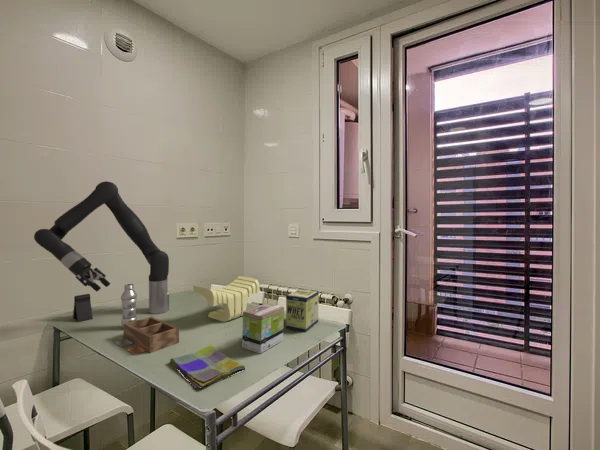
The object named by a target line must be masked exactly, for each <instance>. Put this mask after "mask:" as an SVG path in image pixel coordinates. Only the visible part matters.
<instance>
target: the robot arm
mask: <svg viewBox="0 0 600 450" xmlns="http://www.w3.org/2000/svg"><path fill="white" fill-rule="evenodd" d="M102 205H105V206H106V207H107V208H108V209H109V210H110V212H111V213H112V214H113V217H114V218H115V220H116V222H117V223H118V224H119V226H120V227H121V229H122V230H123V231H124V233H125V234H126V235H127V236H128V238H129V239H130V240H131V241H132V242H133V243H134V244H135V245H136V246H137V247H138V248H139V250H140V251H141V253H142V254H143V256H144V257H145V259H146V261H147V263H148V264H149V267H150V269H149V274H148V314H149V313H150V314H153V315H158V314H163V313H166V312H168V311H170V292H168V290H169V289H168V286H169V284H168V276H169V271H170V261H169V260H170V259H169V255H168V253H167V252H166V251H163V250H161V249H160V248H158V246H157V245H156V244H155V242H153V240H152V238H151V236H150V233H149V231H148V229H147V228H146V226H145V224H144V222H142V220H141V219H140V218H139V216H138V215H137V214H136V213H135V212H134V211H133V210H132V209H131V208H130V207H129V206H128V205H127V204H126V202H125V201H124V200H123V198H122V197H121V195H120V193H119V189H118V186H117V184H115V183H113V182H111V181H108V180H107V181H106V180H105V181H101V182H100V183H98V184H97V185H96V186H95V188H94V190H93V191H92V192H91V193H90V194H89V195H87V197H85V198H84V199H83V200H81V201H80V202H78V203H77V204H76V205H74V206H73V207H71V208H70V209H69V210H66V211H65V212H64V213H63V214H62V215H60V216H59V217H58V218H57V219H55V221H54V223H53V224H54V225H52V227H50V228H49V229H48V228H41V229H38V230H36V231H35V232H34V236H33V239H34V241H35V243H37V244H38V246H40V247H42V248H43V249H44V250H46V251H48V252H49V253H50V254H52V255H53V257H55V258H56V259H57V260H58V261H59V262H60V263H61V264H62V266H64V267H65V268H67V270H68V271H70V272H71V273H72V274H73V275H74V277H75V278H76V279H77V280H78V281H79V282H80V283H81V284H82V285H83V287H87V286H88V287H90V288H92V290H94V291H95V292H99V291H100V290H101V286H100V285H98V284H97V283H96V281H98V282H99V283H101V284H102V285H103V286H105V287H106V288H108V287H109V286H110V285H111V283H110V281H109V280H107V278H106V274H105V273H104V272H102V270H101V269H98V267H95V268H91V267H92V263H91V262H90V261H89V260H87V259H86V257H84V255H82V254H81V253H79V252H78V251H76V249H74V248H73V247H72V246H71V245H69V244H68V243H66V242H65V241H63V239H64V238H65V237H66V236H67V234H68V233H69V232H70V231H71V230H73V229H74V228H75V227H76V226H78V225H79V224H80V223H82V221H84V220H85V219H86V218H87V217H88V216H90V215H91V214H92V213H93V212H95V211H96V210H97V209H98V208H99V207H101V206H102Z"/></svg>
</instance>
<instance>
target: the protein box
mask: <svg viewBox="0 0 600 450" xmlns="http://www.w3.org/2000/svg"><path fill="white" fill-rule="evenodd" d="M319 295H320V291H318V290H313V289H312V290H311V289H306V288H299V289H297V290H295V291H293V292H291V293H289V294H287V295H286V296H285V301H286V302H285V309H286V310H285V317H286V318H285V329H289V330H293V331H294V330H295V331H299V332H303V333H307V332H308V331H309V330H310V329H311V328H313V327H314V326H315V325H316V324H317V323H319V299H320V298H319Z"/></svg>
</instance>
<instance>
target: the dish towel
mask: <svg viewBox="0 0 600 450" xmlns="http://www.w3.org/2000/svg"><path fill="white" fill-rule="evenodd" d="M169 362H170V364H171V365H172V367H175V368H177V369H178V370H180V372H181V373H182V374H183V375H184V377H185V378H186V379H188V380H189V381H190V383H191V384H192V385H193V386H194V387H193V386H192V387H193V388H194V389H195V388H198V389H201V388H200V387H202V388H204V386H205V387H207V386H206V385H208V386H210V385H212V384H211V383H213V384H215V383H217V381H218V382H219V380H220V381H222V380H221V379H223V380H225V379H227V378H226V377H228V376H231V375H233V374H235V373H237V372H239V371H242V370H244V371H245V370H246V368H245V367H246V366H245V365H243V364H242V363H240V362H238V361H235V360H234V359H232V358H231V357H229V356H227V355H226V354H224V353H223V352H222V351H220V350H218V349H217V348H216V347H215V346H214V345H212V344H209V345H207V346H204V347H203V348H201V349H199V350H197V351H195V352H191V353H188V354H185V355H182V356H178V357H177V356H176V357H173V358H170V359H169ZM175 368H174V369H175ZM233 376H234V375H233ZM231 377H232V376H231ZM224 378H225V379H224ZM228 378H229V377H228ZM214 382H215V383H214ZM190 383H189V384H190ZM209 384H210V385H209Z"/></svg>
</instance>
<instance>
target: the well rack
mask: <svg viewBox="0 0 600 450" xmlns="http://www.w3.org/2000/svg"><path fill="white" fill-rule="evenodd" d="M179 343H180V328H179V327H178V326H175V325H173V324H170V323H168V322H165V321H163V320H161V319H159V318H155V317H154V316H148V317H144V318H140V319H137V321H133V322H129V323H126V324H124V328H123V339H121V340H118V341H115V344H116V345H118V346H120V347H121V348H124V347H127V346H130V345H133V344H134V345H135V346H133V347H130V348H127V352H129V353H131V354H132V353H133V355H134V356H135V354H136V355H138V353H139V354H141V352H142V353H144V352H147V351H148V352H147V353H149V352H150V353H149V354H151V352H152V353H154V352H157V351H160V350H162V349H164V348H168V347H170V346H173V345H175V344H176V345H177V344H179Z"/></svg>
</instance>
